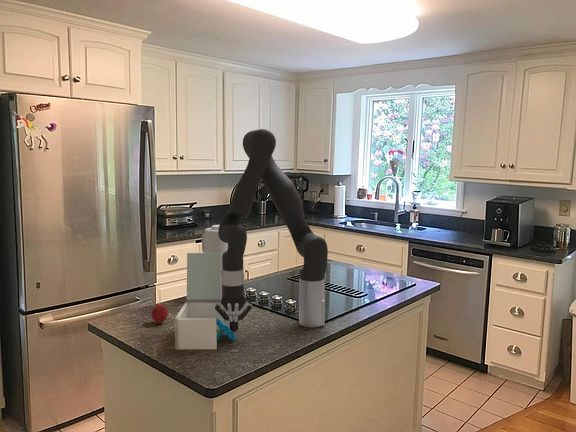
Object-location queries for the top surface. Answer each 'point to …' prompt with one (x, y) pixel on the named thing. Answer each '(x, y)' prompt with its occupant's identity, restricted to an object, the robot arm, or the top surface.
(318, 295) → the robot arm
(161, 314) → the onion
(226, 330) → the blue t-shaped piece
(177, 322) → the box
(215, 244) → the blender
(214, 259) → the lid
